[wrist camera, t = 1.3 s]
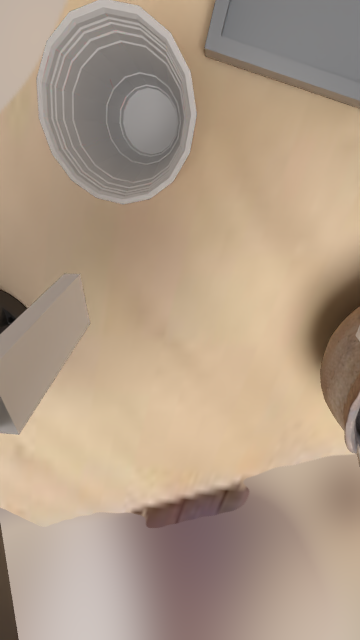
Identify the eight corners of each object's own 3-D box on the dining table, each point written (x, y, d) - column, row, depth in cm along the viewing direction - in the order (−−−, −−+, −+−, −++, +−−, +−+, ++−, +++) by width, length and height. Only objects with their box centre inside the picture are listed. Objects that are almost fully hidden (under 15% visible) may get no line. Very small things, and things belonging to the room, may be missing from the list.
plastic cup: (109, 23, 25) (39, -49, 15) (222, 81, 27) (227, 50, 17) (84, 156, 31) (22, 167, 21) (178, 198, 32) (162, 228, 22)
